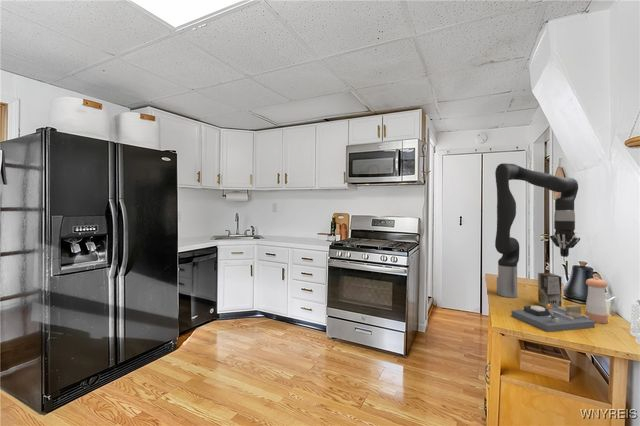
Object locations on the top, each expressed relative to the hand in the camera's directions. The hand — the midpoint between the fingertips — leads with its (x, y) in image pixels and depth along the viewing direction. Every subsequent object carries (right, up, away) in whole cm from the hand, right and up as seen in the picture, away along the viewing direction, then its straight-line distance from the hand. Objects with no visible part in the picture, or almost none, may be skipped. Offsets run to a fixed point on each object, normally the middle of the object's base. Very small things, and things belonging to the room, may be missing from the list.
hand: (564, 256), depth 138 cm
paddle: (-6, -25, -12) cm, 28 cm away
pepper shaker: (+7, -27, -9) cm, 29 cm away
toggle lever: (-18, -23, -16) cm, 34 cm away
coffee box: (+1, -27, +11) cm, 29 cm away
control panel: (-14, -27, -9) cm, 32 cm away
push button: (-17, -25, -6) cm, 31 cm away
